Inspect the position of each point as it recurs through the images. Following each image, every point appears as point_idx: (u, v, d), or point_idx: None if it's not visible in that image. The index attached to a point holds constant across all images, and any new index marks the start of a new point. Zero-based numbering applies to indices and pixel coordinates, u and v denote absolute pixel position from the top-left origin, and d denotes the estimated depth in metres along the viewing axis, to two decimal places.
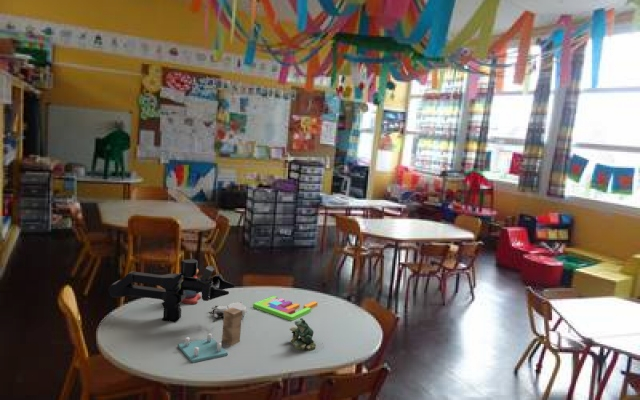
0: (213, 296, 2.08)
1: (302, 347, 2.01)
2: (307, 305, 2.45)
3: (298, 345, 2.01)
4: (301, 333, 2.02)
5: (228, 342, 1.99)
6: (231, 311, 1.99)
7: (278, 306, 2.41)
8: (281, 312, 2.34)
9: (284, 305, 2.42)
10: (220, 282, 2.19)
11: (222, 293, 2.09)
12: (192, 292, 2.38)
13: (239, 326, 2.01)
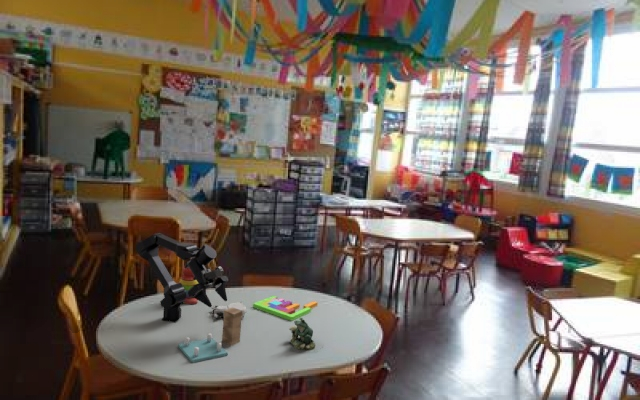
0: (198, 297, 2.00)
1: (302, 347, 2.01)
2: (307, 305, 2.45)
3: (297, 345, 2.02)
4: (301, 333, 2.02)
5: (228, 342, 1.99)
6: (231, 311, 1.99)
7: (278, 305, 2.41)
8: (281, 312, 2.34)
9: (284, 305, 2.42)
10: (220, 286, 2.09)
11: (206, 302, 2.00)
12: None
13: (239, 326, 2.01)
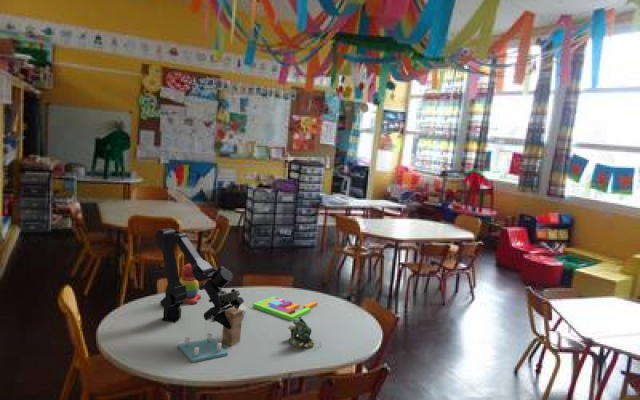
0: (217, 319, 1.99)
1: (300, 345, 2.02)
2: (307, 305, 2.45)
3: (296, 344, 2.03)
4: (299, 331, 2.03)
5: (228, 342, 1.99)
6: (232, 311, 1.99)
7: (278, 306, 2.41)
8: (281, 312, 2.33)
9: (284, 305, 2.42)
10: None
11: (225, 324, 1.98)
12: (192, 292, 2.38)
13: (239, 326, 2.01)
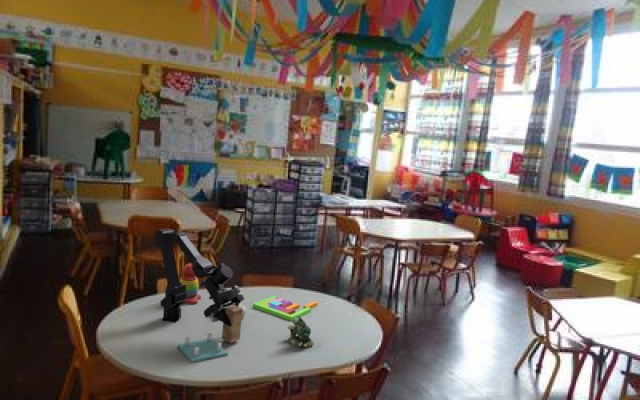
0: (217, 316, 1.98)
1: (299, 345, 2.02)
2: (307, 305, 2.45)
3: (295, 343, 2.03)
4: (298, 331, 2.04)
5: (228, 339, 1.99)
6: (232, 308, 1.99)
7: (278, 306, 2.41)
8: (281, 312, 2.33)
9: (284, 305, 2.42)
10: None
11: (225, 321, 1.98)
12: (192, 292, 2.38)
13: (239, 324, 2.01)
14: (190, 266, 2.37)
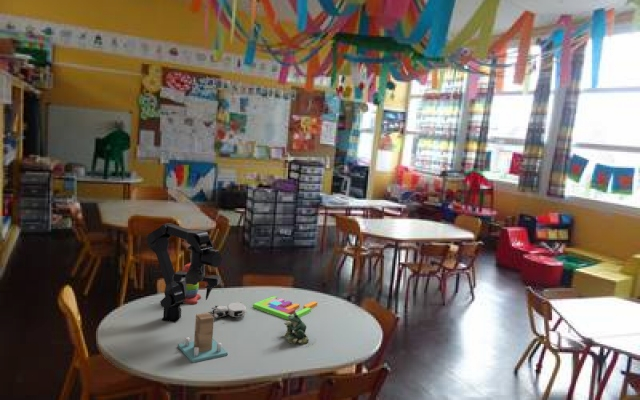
0: None
1: (294, 341, 2.06)
2: (307, 305, 2.45)
3: (290, 339, 2.06)
4: (293, 327, 2.07)
5: None
6: (202, 316, 1.89)
7: (277, 306, 2.40)
8: (281, 312, 2.33)
9: (284, 305, 2.41)
10: None
11: None
12: (192, 292, 2.38)
13: (210, 333, 1.90)
14: None
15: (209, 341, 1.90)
